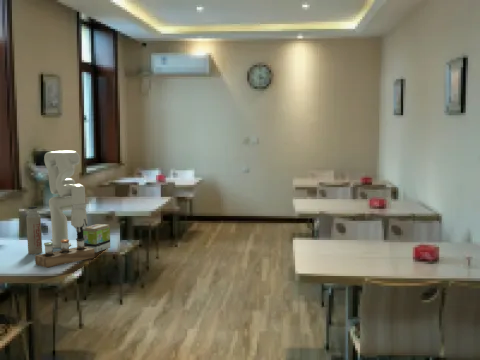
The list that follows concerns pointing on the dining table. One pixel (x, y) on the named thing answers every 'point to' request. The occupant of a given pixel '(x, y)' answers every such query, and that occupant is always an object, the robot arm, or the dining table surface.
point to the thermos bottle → (34, 231)
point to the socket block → (64, 257)
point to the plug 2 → (80, 244)
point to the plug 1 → (48, 249)
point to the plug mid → (65, 245)
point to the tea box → (97, 237)
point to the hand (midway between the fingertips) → (80, 238)
